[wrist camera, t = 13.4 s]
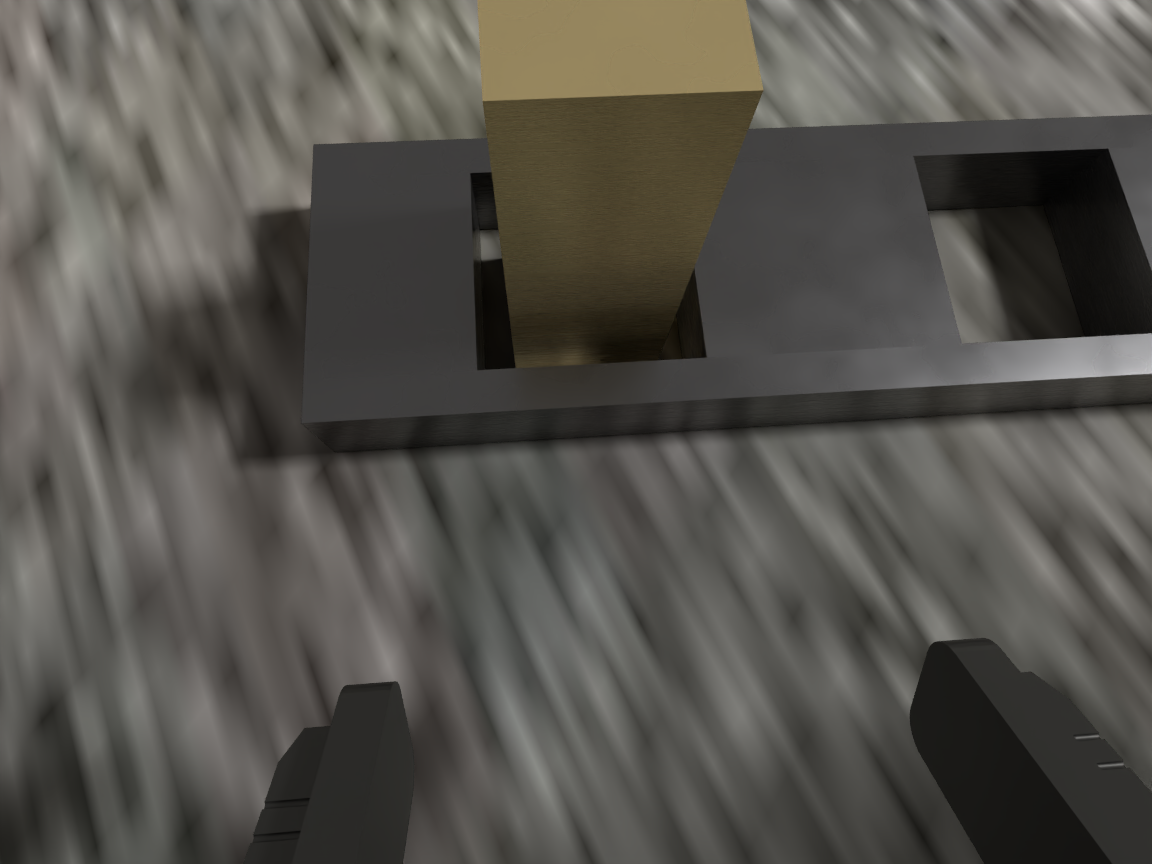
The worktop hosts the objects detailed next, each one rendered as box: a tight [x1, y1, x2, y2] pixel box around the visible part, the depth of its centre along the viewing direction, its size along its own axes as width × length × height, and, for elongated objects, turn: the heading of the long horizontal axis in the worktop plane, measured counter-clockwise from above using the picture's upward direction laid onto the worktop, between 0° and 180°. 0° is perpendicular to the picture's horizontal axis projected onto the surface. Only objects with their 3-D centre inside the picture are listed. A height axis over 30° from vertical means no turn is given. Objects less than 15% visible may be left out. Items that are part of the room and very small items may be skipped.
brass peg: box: [478, 0, 763, 368], centre depth 17 cm, size 4×4×12 cm
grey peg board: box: [301, 115, 1152, 452], centre depth 22 cm, size 30×9×3 cm, turn 94°
